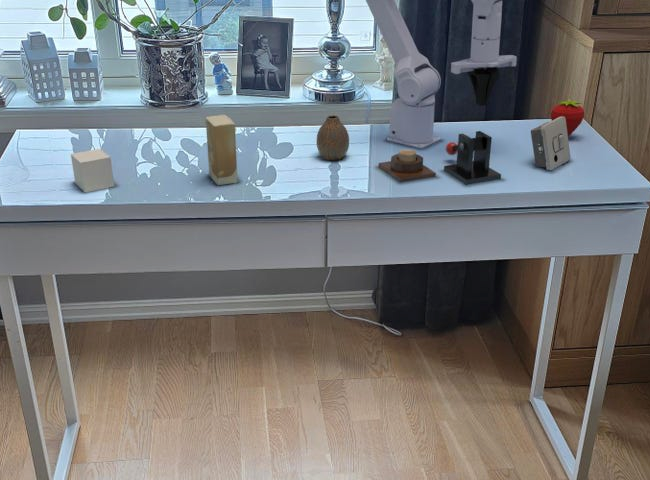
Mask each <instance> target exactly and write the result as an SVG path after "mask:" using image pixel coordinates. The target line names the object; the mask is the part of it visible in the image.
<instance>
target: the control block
mask: <svg viewBox="0 0 650 480" xmlns="http://www.w3.org/2000/svg"><path fill="white" fill-rule="evenodd" d="M398 154H399V153H396V154H393V155H391V157H390V161H383V162H378V168H379V169H381V170H382V171H383V172H384V173H386V174H388V175H389V176H390V177H392V178H393V179H395V180H396V181H398V182H399V183H406V182H407V183H408V182H413V181H418V180H424V179H425V180H426V179H431V178H436V174H437V172H435V171H434V170H433V169H431V168H429V167H427V166H426V165H424V157H423V156H421V155H420V154H417V153H416V161H413V162H403V161H399V160H398Z"/></svg>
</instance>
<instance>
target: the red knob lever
mask: <svg viewBox="0 0 650 480" xmlns="http://www.w3.org/2000/svg"><path fill="white" fill-rule="evenodd" d="M471 138H472V139H474V150H473V152H474V151H476V150H481V149H483V141H482V137H478V138H475V137H471ZM457 150H458V143H456V142H453V141H450V142H449V143H447V145H446V146H445V151H446V153H447V154H448V155H449V156H454V155H457Z"/></svg>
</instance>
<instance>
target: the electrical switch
mask: <svg viewBox="0 0 650 480" xmlns="http://www.w3.org/2000/svg"><path fill="white" fill-rule="evenodd" d="M530 137H531V143H532V150H533V157H534V163H535V168H545V169H546V171H554V170H556V169H557V168H558V167H560V166H562V165H564V164H565V163H567V162H568V161H570V160H571V149H570V142H569V137H568V134H567V126H566V119H565V117H558V118H556V119H555V120H553V121H552V120H550V121H547V122H545V123H543V124H541V125H539V126H537V127H535V128H533V129H531V130H530Z"/></svg>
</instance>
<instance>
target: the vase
mask: <svg viewBox="0 0 650 480" xmlns="http://www.w3.org/2000/svg"><path fill="white" fill-rule="evenodd" d="M349 147H350V136H349V132H348V130H347V128H346V127H345V125H344V123H342V121H341V119H340V117H339V116H338V115H336V114H335V115H334V114H331V115H327V117H326V119H325V121H324V122H323V123H322V124H321V125H320V127H319V129H318V131H317V134H316V148H317V151H318V153H319V155H320V156H321V157H322V158H323V159H324V160H326V161H339V160H341V159H342V158H344V157H345V156H346V155H347V153H348V150H349Z"/></svg>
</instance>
